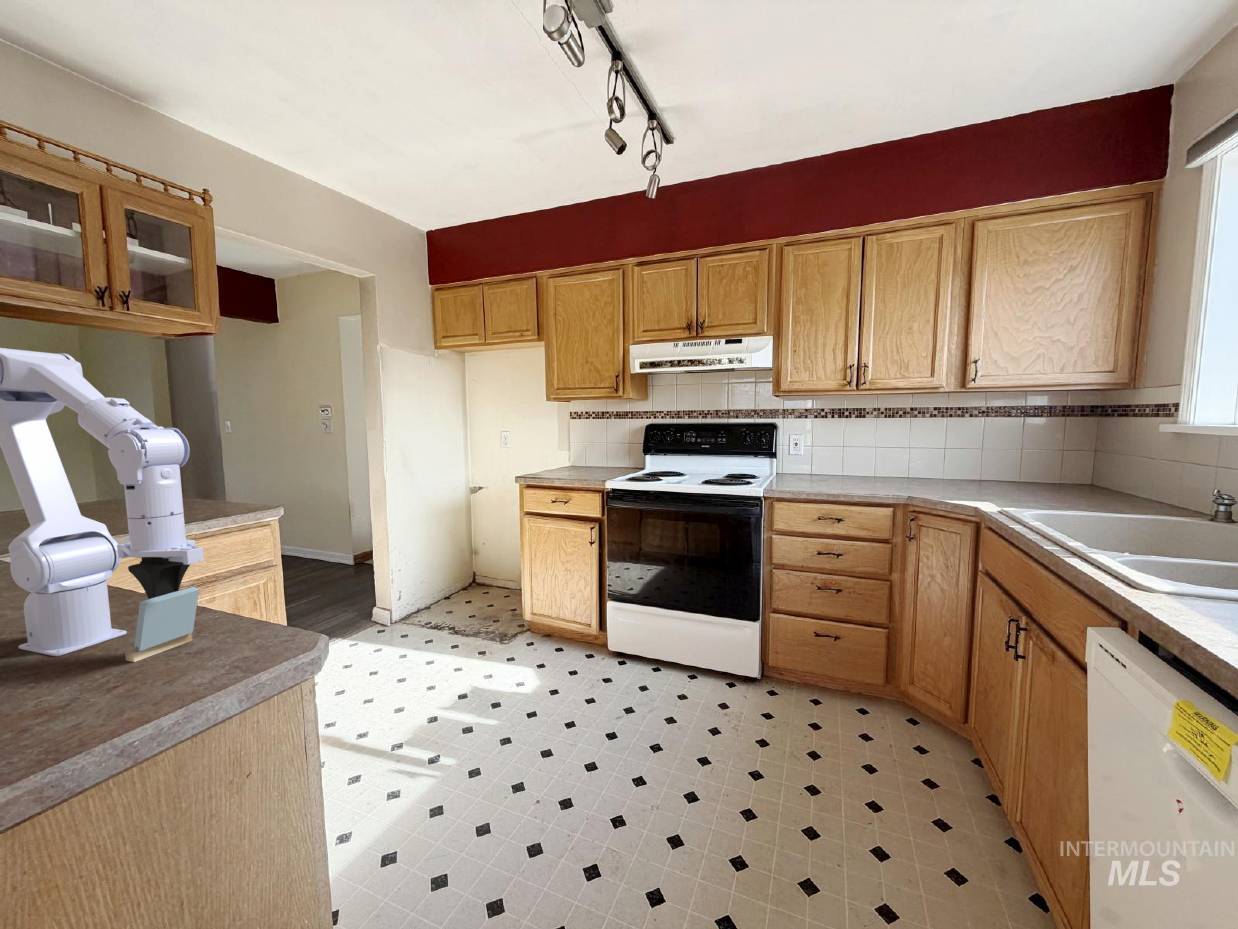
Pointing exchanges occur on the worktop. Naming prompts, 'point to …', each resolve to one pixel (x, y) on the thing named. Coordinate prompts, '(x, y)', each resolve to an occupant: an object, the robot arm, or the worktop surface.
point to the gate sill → (157, 648)
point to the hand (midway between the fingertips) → (165, 609)
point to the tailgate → (165, 618)
